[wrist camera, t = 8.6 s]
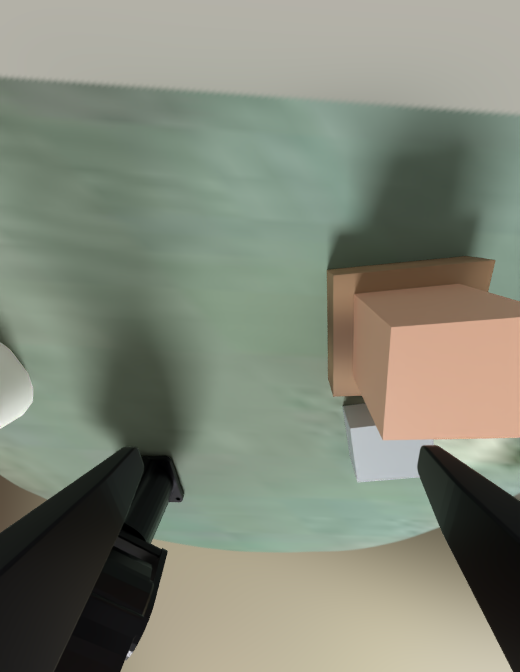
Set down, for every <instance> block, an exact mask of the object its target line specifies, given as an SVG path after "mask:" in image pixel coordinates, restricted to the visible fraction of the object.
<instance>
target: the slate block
mask: <svg viewBox="0 0 520 672" xmlns="http://www.w3.org/2000/svg"><path fill="white" fill-rule="evenodd" d="M343 412H344V419H345V426H346V433H347V440H348V447H349V454H350V458H351V462H352V465H353V469H354V472H355V475H356V479H357V482H367V481H380V480H392V479H404V478H417V477H420V476H419V474H418V470H417V463H418V458H419V452H420V448H421V446H423V445H433V439H426V440H382V438H381V436H380V434H379V431H378V429H377V427H376V425H375V423H374V421H373V418H372V416H371V414H370V412H369V410H368V408H367V406H366V403H363V404H355V405H347V406H343Z"/></svg>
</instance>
